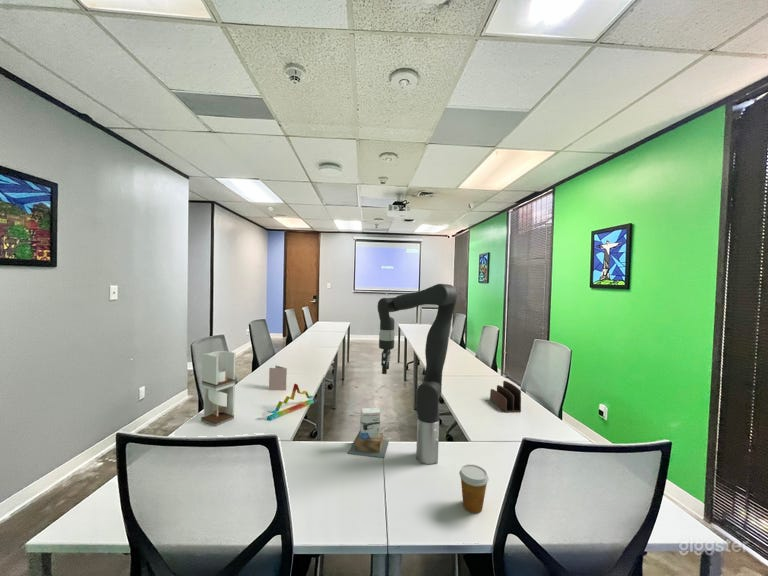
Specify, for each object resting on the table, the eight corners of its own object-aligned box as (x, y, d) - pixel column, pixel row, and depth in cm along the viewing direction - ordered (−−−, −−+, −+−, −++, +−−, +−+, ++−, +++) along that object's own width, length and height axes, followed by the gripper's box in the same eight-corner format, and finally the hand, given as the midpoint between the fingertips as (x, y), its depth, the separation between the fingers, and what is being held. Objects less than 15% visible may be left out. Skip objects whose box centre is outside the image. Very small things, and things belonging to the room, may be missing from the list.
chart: (270, 421, 164) (271, 393, 164) (267, 419, 166) (267, 391, 165) (313, 403, 189) (314, 379, 189) (310, 402, 191) (310, 378, 191)
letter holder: (503, 400, 205) (504, 378, 205) (521, 412, 186) (522, 389, 185) (489, 400, 204) (490, 379, 204) (505, 413, 184) (506, 389, 184)
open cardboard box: (382, 443, 144) (382, 432, 144) (379, 452, 136) (380, 441, 136) (359, 440, 146) (359, 430, 145) (355, 449, 138) (355, 438, 138)
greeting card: (287, 390, 210) (287, 367, 210) (278, 393, 204) (278, 370, 204) (275, 386, 216) (276, 365, 216) (266, 389, 210) (267, 367, 210)
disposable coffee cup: (481, 497, 110) (482, 463, 110) (491, 517, 101) (493, 480, 101) (455, 496, 110) (456, 463, 110) (462, 517, 100) (464, 480, 100)
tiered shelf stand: (201, 421, 161) (202, 353, 160) (220, 413, 170) (221, 350, 170) (215, 426, 155) (216, 357, 155) (234, 418, 165) (235, 353, 164)
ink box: (360, 439, 137) (361, 412, 137) (359, 433, 142) (360, 408, 142) (379, 438, 139) (380, 411, 138) (378, 432, 144) (378, 407, 143)
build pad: (388, 441, 146) (388, 440, 146) (384, 458, 132) (384, 457, 132) (355, 437, 149) (355, 437, 149) (347, 453, 135) (347, 452, 135)
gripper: (392, 341, 145) (391, 376, 145) (395, 336, 159) (394, 368, 159) (376, 340, 146) (375, 375, 146) (381, 335, 160) (380, 367, 160)
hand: (385, 371), depth 152 cm, fingers open, 8 cm apart
